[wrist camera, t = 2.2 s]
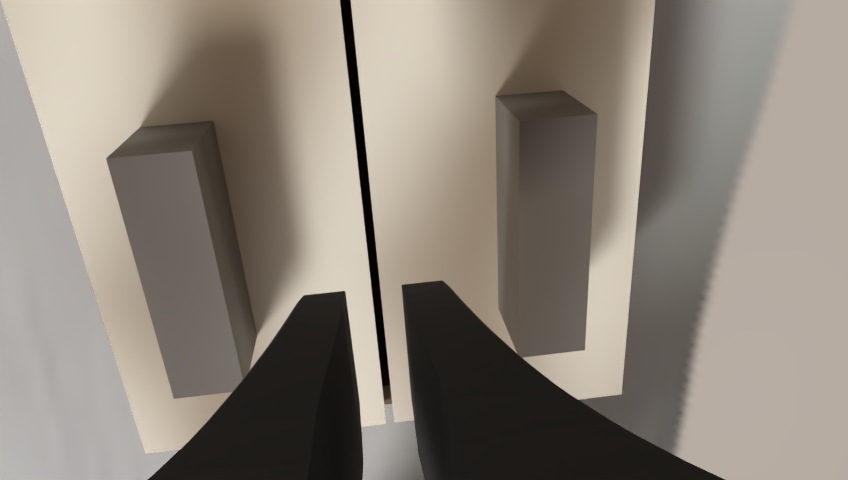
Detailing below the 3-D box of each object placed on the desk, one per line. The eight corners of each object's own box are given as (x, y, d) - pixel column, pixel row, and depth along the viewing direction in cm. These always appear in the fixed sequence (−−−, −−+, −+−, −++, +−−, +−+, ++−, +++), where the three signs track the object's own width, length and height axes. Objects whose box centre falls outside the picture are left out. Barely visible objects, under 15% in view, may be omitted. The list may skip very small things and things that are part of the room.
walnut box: (578, -75, 16) (645, -79, 13) (564, 301, 21) (610, 376, 17) (88, -42, 15) (9, -36, 12) (187, 344, 20) (153, 432, 17)
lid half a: (334, -58, 12) (331, -57, 10) (385, 408, 17) (391, 484, 14) (5, -36, 12) (-79, -30, 9) (152, 436, 16) (120, 519, 14)
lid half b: (648, -79, 13) (718, -84, 10) (613, 380, 17) (655, 449, 15) (344, -59, 12) (344, -58, 10) (392, 407, 17) (400, 482, 14)
